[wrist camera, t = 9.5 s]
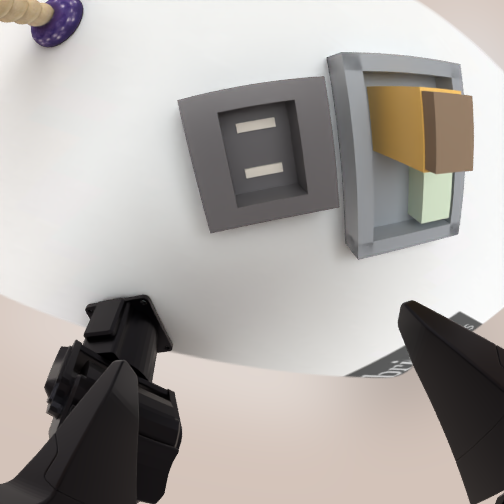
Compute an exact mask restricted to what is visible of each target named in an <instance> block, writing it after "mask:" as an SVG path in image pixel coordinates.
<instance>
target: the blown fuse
mask: <svg viewBox="0 0 504 504" xmlns="http://www.w3.org/2000/svg"><path fill="white" fill-rule="evenodd" d="M367 94H368V102H369V110H370V120H371V131H372V144H373V151H375V152H378V153H380V154H383V155H385V156H387V157H390V158H392V159H394V160H397V161H399V162H401V163H403V164H406V165H408V166H410V167H412V168H414V169H416V170H418V171H421V172H423V173H427V172H432V173H434V174H444V173H453V172H463V171H473V151H474V123H473V102H472V96H468V95H461V91H456V90H448V89H439V88H429V87H412V86H367Z"/></svg>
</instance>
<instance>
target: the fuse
mask: <svg viewBox="0 0 504 504" xmlns="http://www.w3.org/2000/svg"><path fill="white" fill-rule="evenodd" d="M451 188H452V173H444V174H434V173H432V172H427V173H423V172H421V171H418V170H416V169H414V168H412V167H410V166H409V195H408V214H409V215H410V216H412V217H413V218H414V219H416V220H417V221H418V222H420V223H421V224H422V223H427V222H431V221H436V220H440V219H445V218H449V211H450V201H451Z"/></svg>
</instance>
